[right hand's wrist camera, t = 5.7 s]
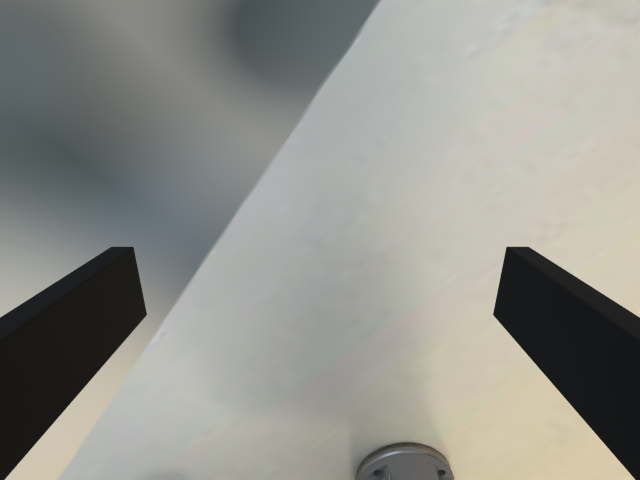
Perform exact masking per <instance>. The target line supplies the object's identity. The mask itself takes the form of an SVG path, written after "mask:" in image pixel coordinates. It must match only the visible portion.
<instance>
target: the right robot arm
mask: <svg viewBox="0 0 640 480" xmlns="http://www.w3.org/2000/svg"><path fill="white" fill-rule="evenodd" d="M146 315H147V313H146V308H145V303H144V298H143V293H142V288H141V283H140V278H139V273H138V268H137V263H136V258H135V253H134V248H133V247H111V248H109V249H107V250H106V251H104V252H103V253H101V254H100V255H98V256H96V257H95V258H93V259H92V260H90V261H89V262H87V263H85V264H84V265H82V266H81V267H79V268H78V269H76V270H74V271H73V272H71V273H70V274H68V275H67V276H65V277H63V278H62V279H60V280H59V281H57V282H56V283H54V284H52V285H51V286H49V287H48V288H46V289H45V290H43V291H41V292H40V293H38V294H37V295H35V296H34V297H32V298H31V299H29V300H27V301H26V302H24V303H23V304H21V305H20V306H18V307H16V308H15V309H13V310H12V311H10V312H8V313H7V314H5V315H4V316H2V317H1V318H0V480H4V479H5V478H6V477H7V476H8V475H9V474H10V473H11V471H12V470H13V469H14V468H15V467H16V466H17V464H18V463H19V462H20V461H21V460H22V459H23V458H24V456H25V455H26V454H27V453H28V452H29V451H30V449H31V448H32V447H33V446H34V445H35V443H36V442H37V441H38V440H39V439H40V438H41V437H42V435H43V434H44V433H45V432H46V431H47V430H48V428H49V427H50V426H51V425H52V424H53V423H54V422H55V420H56V419H57V418H58V417H59V416H60V415H61V414H62V412H63V411H64V410H65V409H66V408H67V406H68V405H69V404H70V403H71V402H72V401H73V400H74V398H75V397H76V396H77V395H78V394H79V393H80V392H81V390H82V389H83V388H84V387H85V386H86V385H87V383H88V382H89V381H90V380H91V379H92V378H93V376H94V375H95V374H96V373H97V372H98V371H99V370H100V368H101V367H102V366H103V365H104V364H105V362H106V361H107V360H108V359H109V358H110V357H111V356H112V354H113V353H114V352H115V351H116V350H117V349H118V348H119V346H120V345H121V344H122V343H123V342H124V341H125V339H126V338H127V337H128V336H129V335H130V334H131V332H132V331H133V330H134V329H135V328H136V327H137V326H138V324H139V323H140V322H141V321H142V320H143V319H144V317H145V316H146ZM493 315H494V316H495V317H496V319H497V320H498V321H499V322H500V323H501V324H502V326H503V327H504V328H505V329H506V330H507V331H508V332H509V334H510V335H511V336H512V337H513V338H514V339H515V341H516V342H517V343H518V344H519V345H520V346H521V348H522V349H523V350H524V351H525V352H526V353H527V354H528V356H529V357H530V358H531V359H532V360H533V361H534V363H535V364H536V365H537V366H538V367H539V368H540V370H541V371H542V372H543V373H544V374H545V375H546V376H547V378H548V379H549V380H550V381H551V382H552V383H553V385H554V386H555V387H556V388H557V389H558V390H559V392H560V393H561V394H562V395H563V396H564V397H565V398H566V400H567V401H568V402H569V403H570V404H571V405H572V407H573V408H574V409H575V410H576V411H577V412H578V414H579V415H580V416H581V417H582V418H583V419H584V420H585V422H586V423H587V424H588V425H589V426H590V427H591V429H592V430H593V431H594V432H595V433H596V434H597V436H598V437H599V438H600V439H601V440H602V441H603V442H604V444H605V445H606V446H607V447H608V448H609V449H610V451H611V452H612V453H613V454H614V455H615V456H616V458H617V459H618V460H619V461H620V462H621V463H622V464H623V466H624V467H625V468H626V469H627V470H628V471H629V473H630V474H631V475H632V476H633V477H634V478H635V480H640V318H639V317H638V316H636V315H635V314H633V313H632V312H630V311H628V310H627V309H625V308H624V307H622V306H621V305H619V304H617V303H616V302H614V301H613V300H611V299H610V298H608V297H606V296H605V295H603V294H602V293H600V292H599V291H597V290H595V289H594V288H592V287H591V286H589V285H588V284H586V283H584V282H583V281H581V280H580V279H578V278H577V277H575V276H573V275H572V274H570V273H569V272H567V271H566V270H564V269H562V268H561V267H559V266H558V265H556V264H555V263H553V262H551V261H550V260H548V259H547V258H545V257H544V256H542V255H540V254H539V253H537V252H536V251H534V250H533V249H531V248H529V247H507V248H506V253H505V258H504V263H503V268H502V273H501V278H500V283H499V288H498V293H497V298H496V303H495V308H494V313H493ZM356 480H454V477H453V474H452V471H451V468H450V466H449V463H448V462H447V460H446V459H445V458H444V457H443V456H442V455H441V454H440V453H439V452H437V451H436V450H434V449H432V448H429V447H427V446H423V445H419V444H396V445H391V446H387V447H384V448H382V449H379V450H377V451H376V452H374V453H372V454H371V455H369V456H368V457H367V458H366V459H365V460H364V461H363V462H362V463H361V465H360V466H359V468H358V471H357V474H356Z"/></svg>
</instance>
